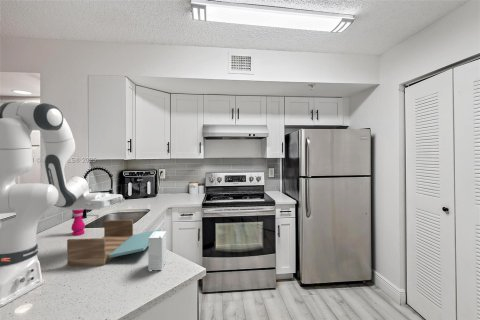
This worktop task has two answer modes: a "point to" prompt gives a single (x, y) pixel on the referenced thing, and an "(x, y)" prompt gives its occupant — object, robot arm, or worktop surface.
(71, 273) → the worktop surface
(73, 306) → the worktop surface
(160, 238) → the skincare box
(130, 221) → the box
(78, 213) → the pepper mill
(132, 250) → the tailgate
